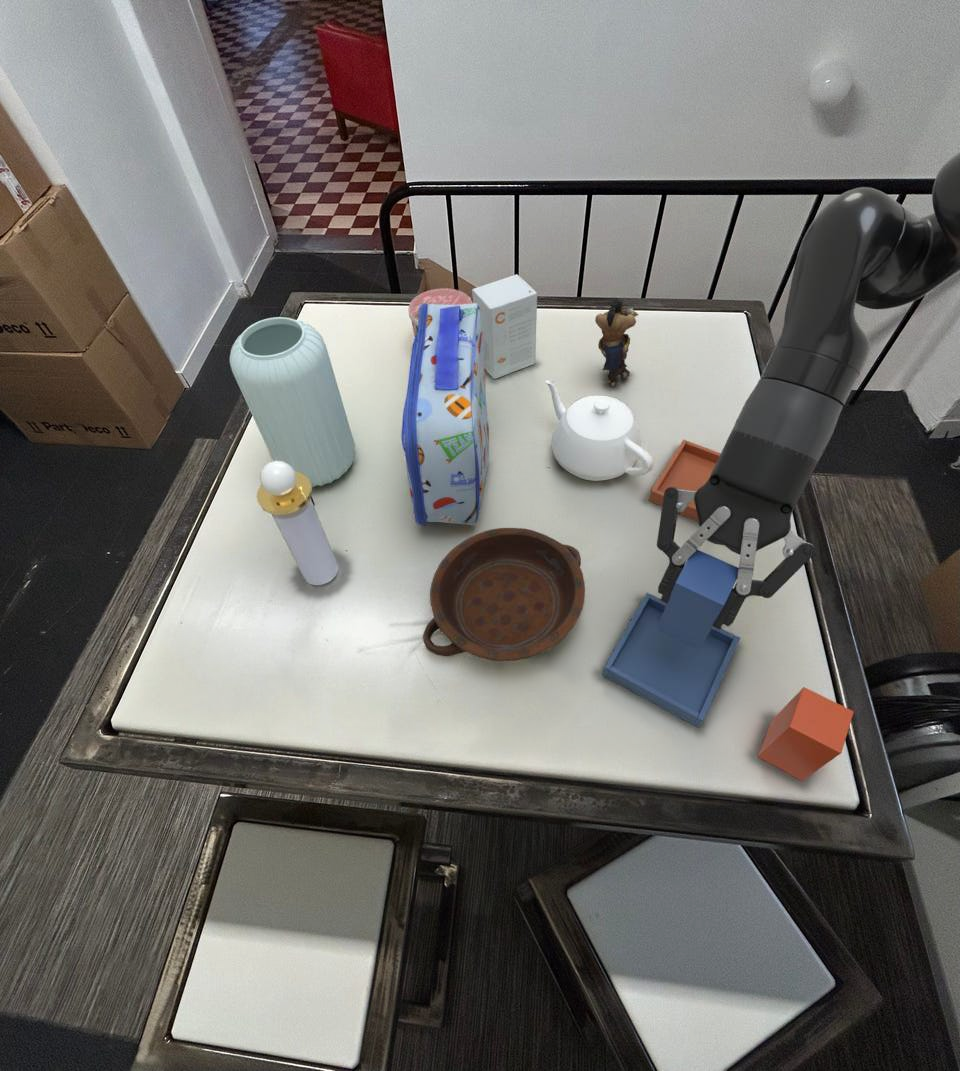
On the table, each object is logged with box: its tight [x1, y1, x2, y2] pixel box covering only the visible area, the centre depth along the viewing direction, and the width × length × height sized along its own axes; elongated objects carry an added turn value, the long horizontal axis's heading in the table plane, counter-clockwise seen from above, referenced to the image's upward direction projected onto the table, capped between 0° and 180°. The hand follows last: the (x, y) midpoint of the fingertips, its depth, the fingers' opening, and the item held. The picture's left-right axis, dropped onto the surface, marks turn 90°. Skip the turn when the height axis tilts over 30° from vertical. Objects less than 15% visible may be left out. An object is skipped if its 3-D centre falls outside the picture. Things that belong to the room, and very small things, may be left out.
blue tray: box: [602, 592, 741, 728], centre depth 68 cm, size 11×11×2 cm
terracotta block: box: [757, 686, 855, 782], centre depth 59 cm, size 4×4×9 cm
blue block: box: [657, 549, 739, 650], centre depth 59 cm, size 4×4×9 cm
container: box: [407, 288, 473, 337], centre depth 102 cm, size 10×10×8 cm
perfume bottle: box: [256, 460, 339, 586], centre depth 70 cm, size 6×6×20 cm
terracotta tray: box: [648, 439, 721, 523], centre depth 83 cm, size 11×11×2 cm
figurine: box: [594, 298, 639, 388], centre depth 92 cm, size 7×6×15 cm
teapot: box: [545, 379, 655, 482], centre depth 84 cm, size 20×12×10 cm, turn 39°
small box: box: [471, 273, 538, 380], centre depth 97 cm, size 8×6×13 cm
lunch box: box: [401, 302, 490, 527], centre depth 80 cm, size 28×10×22 cm, turn 0°
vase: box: [229, 316, 356, 488], centre depth 81 cm, size 12×12×22 cm
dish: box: [422, 527, 586, 662], centre depth 72 cm, size 18×22×5 cm
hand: (690, 612), depth 57 cm, fingers closed on blue block, 4 cm apart
